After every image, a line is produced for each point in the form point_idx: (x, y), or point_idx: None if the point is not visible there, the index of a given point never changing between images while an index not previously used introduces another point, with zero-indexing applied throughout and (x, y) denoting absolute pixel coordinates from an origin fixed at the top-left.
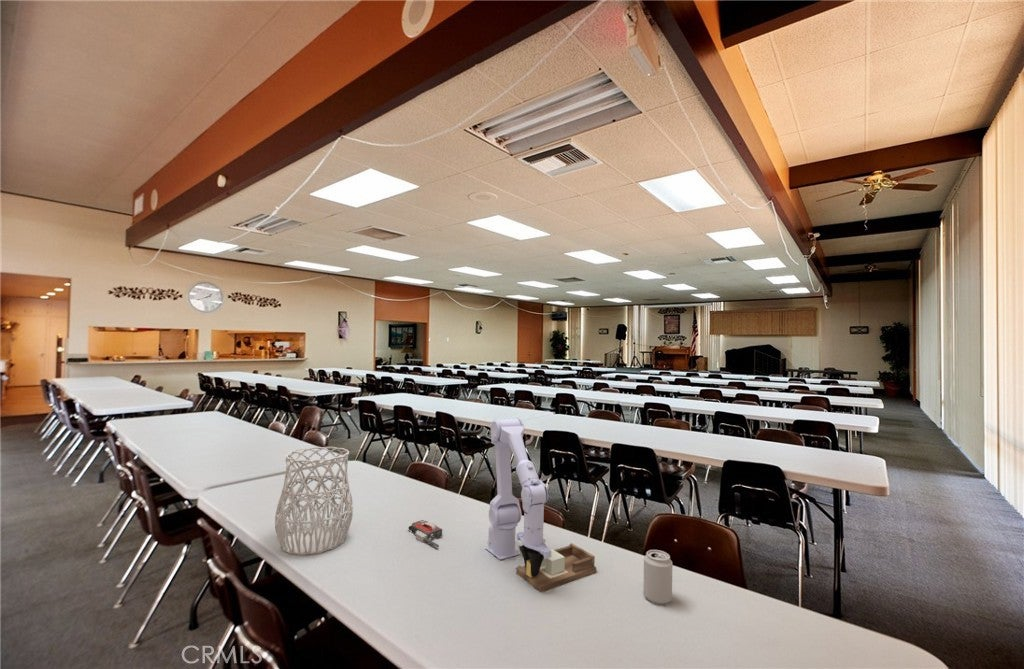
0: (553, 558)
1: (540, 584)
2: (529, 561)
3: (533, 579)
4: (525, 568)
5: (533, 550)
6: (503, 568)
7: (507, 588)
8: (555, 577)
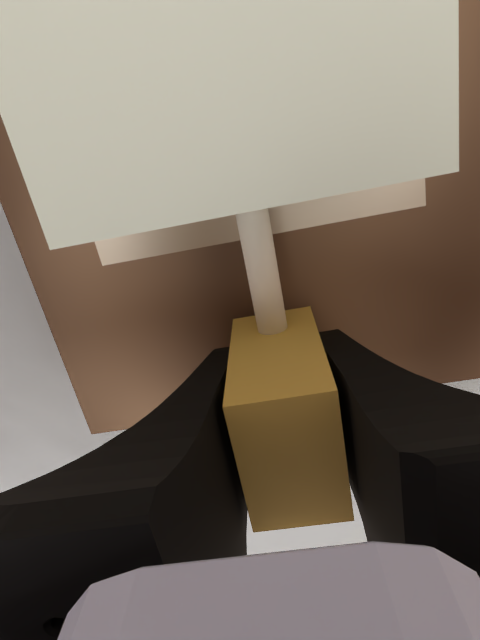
0: (384, 72)
1: (467, 358)
2: (294, 512)
3: None
4: (119, 361)
5: (203, 533)
6: (5, 463)
7: (302, 534)
8: None
